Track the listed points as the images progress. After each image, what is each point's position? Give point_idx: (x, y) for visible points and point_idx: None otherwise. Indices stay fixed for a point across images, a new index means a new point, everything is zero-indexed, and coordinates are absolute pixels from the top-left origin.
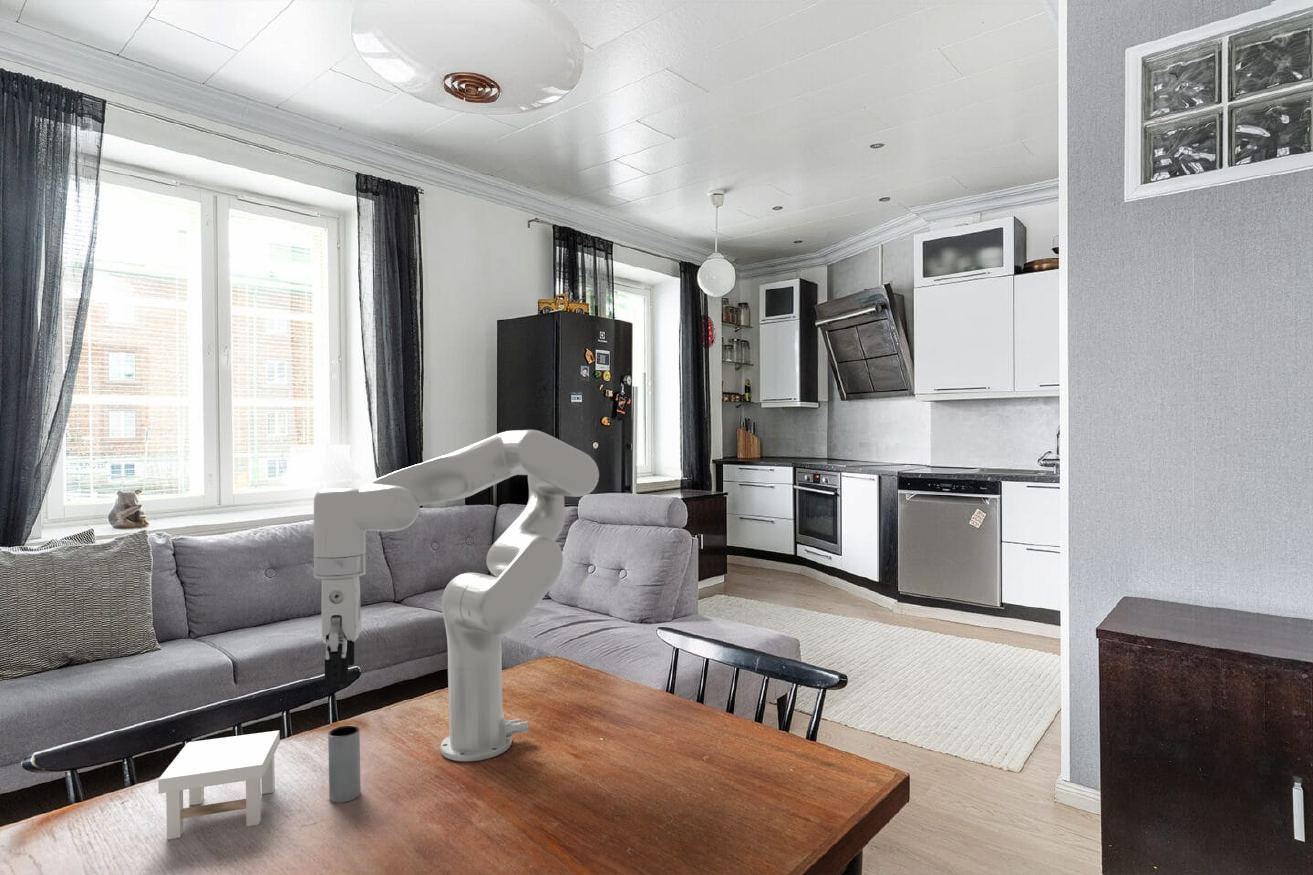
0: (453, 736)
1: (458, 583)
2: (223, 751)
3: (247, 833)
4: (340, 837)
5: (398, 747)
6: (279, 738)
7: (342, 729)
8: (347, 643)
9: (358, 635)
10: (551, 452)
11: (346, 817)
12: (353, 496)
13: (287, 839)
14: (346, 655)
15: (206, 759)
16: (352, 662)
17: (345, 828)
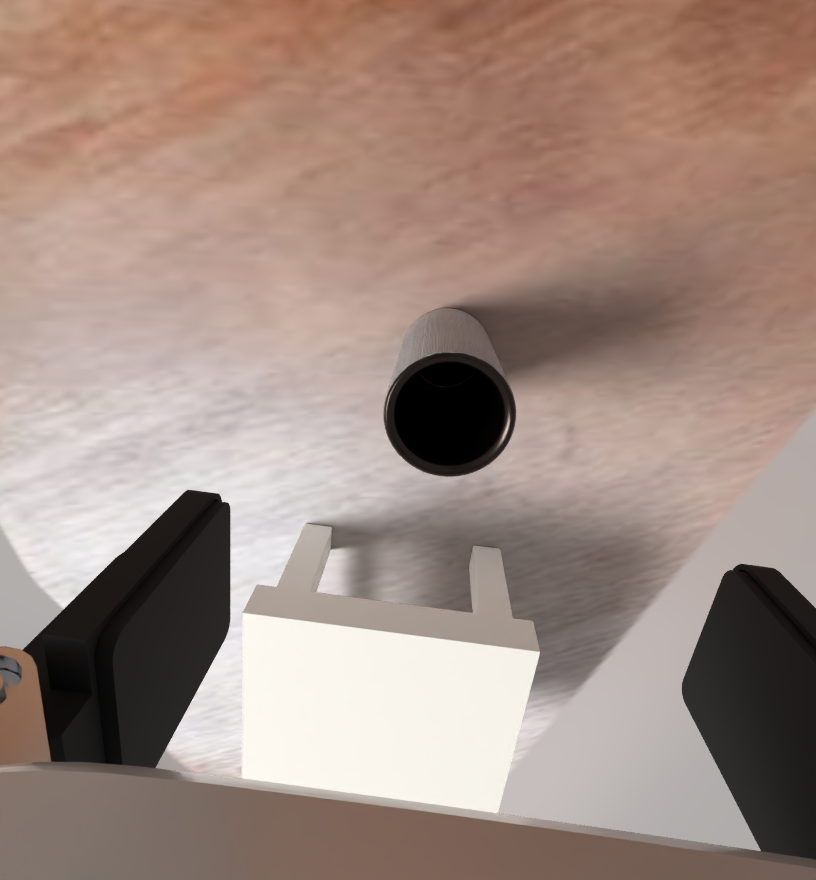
0: None
1: None
2: (364, 740)
3: (531, 567)
4: (695, 370)
5: (129, 153)
6: (253, 593)
7: (396, 417)
8: (124, 687)
9: (779, 866)
10: None
11: (588, 352)
12: None
13: (619, 489)
14: (194, 599)
15: (407, 771)
16: (221, 510)
17: (652, 357)
